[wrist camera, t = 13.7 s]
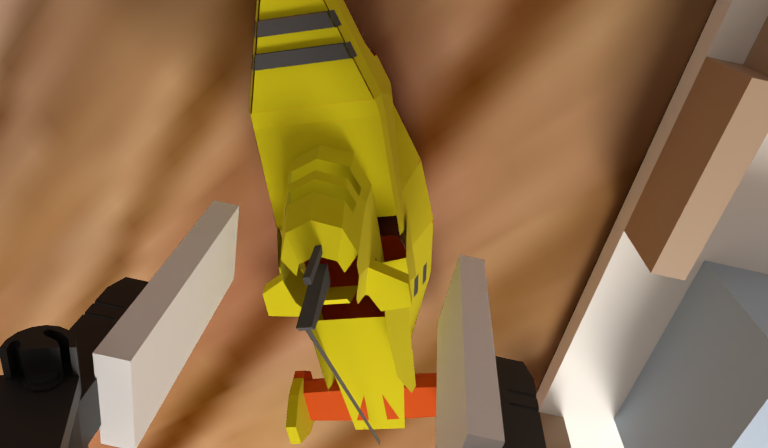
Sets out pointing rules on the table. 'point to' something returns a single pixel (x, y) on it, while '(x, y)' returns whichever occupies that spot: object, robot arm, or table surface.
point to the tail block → (706, 369)
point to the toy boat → (341, 216)
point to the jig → (670, 227)
